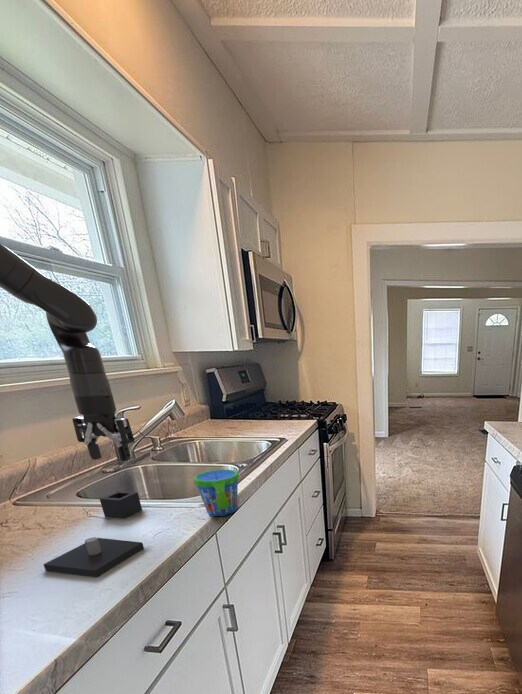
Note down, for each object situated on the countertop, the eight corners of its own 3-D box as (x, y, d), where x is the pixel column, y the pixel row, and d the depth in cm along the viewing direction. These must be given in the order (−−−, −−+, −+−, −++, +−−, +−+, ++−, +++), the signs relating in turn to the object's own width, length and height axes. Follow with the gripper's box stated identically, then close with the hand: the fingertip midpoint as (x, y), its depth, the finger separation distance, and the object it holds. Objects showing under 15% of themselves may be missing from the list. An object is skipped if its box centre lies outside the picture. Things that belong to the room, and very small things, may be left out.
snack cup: (202, 504, 111) (195, 468, 107) (242, 499, 114) (237, 464, 110) (199, 526, 97) (191, 486, 93) (244, 520, 101) (238, 481, 97)
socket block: (104, 516, 103) (99, 498, 101) (123, 508, 108) (118, 490, 106) (124, 518, 102) (119, 500, 100) (142, 509, 107) (137, 492, 105)
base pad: (45, 571, 78) (37, 550, 76) (97, 543, 89) (91, 525, 87) (97, 577, 76) (90, 556, 74) (144, 548, 87) (139, 529, 85)
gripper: (53, 394, 92) (74, 462, 99) (105, 395, 90) (123, 465, 96) (81, 390, 99) (100, 454, 105) (131, 391, 96) (146, 457, 103)
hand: (111, 459), depth 101 cm, fingers open, 8 cm apart
